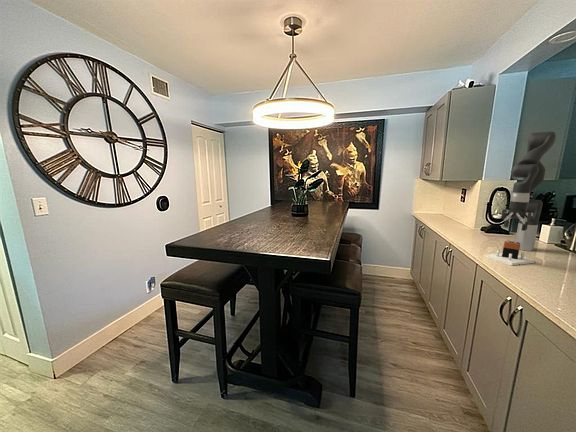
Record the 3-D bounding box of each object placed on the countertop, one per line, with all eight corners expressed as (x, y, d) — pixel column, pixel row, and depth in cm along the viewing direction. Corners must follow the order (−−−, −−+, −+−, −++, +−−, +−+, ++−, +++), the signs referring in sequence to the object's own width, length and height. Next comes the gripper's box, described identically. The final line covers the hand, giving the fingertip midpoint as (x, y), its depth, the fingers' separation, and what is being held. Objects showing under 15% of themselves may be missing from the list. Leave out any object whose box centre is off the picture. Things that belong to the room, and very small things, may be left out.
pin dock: (507, 254, 150) (508, 246, 149) (534, 262, 137) (536, 254, 136) (485, 257, 146) (486, 249, 145) (511, 265, 132) (513, 256, 131)
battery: (517, 259, 137) (520, 242, 135) (501, 256, 142) (504, 240, 140) (517, 257, 140) (520, 241, 139) (502, 254, 145) (504, 238, 143)
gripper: (540, 202, 129) (534, 231, 132) (510, 199, 143) (505, 225, 146) (530, 202, 127) (524, 232, 130) (500, 199, 141) (496, 226, 144)
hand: (514, 228), depth 138 cm, fingers open, 8 cm apart
